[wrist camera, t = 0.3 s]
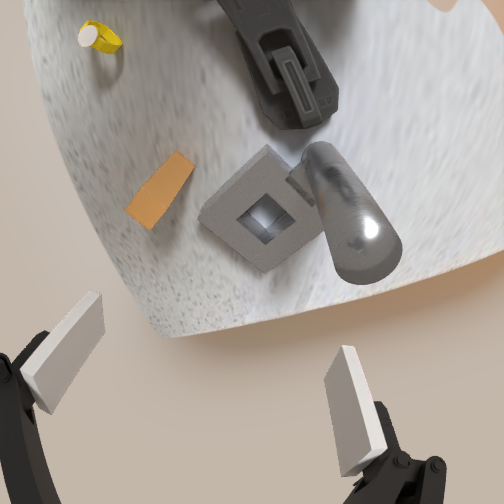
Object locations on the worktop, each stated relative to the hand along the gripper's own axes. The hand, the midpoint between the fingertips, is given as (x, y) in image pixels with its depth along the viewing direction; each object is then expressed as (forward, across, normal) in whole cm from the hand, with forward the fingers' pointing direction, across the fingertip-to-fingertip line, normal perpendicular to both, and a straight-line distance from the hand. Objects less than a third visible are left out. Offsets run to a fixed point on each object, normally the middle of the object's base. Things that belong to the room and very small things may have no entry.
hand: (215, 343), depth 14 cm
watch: (+20, -21, +21) cm, 36 cm away
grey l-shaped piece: (+26, +4, +4) cm, 26 cm away
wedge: (+25, -10, +5) cm, 27 cm away
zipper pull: (+21, -2, +24) cm, 32 cm away
